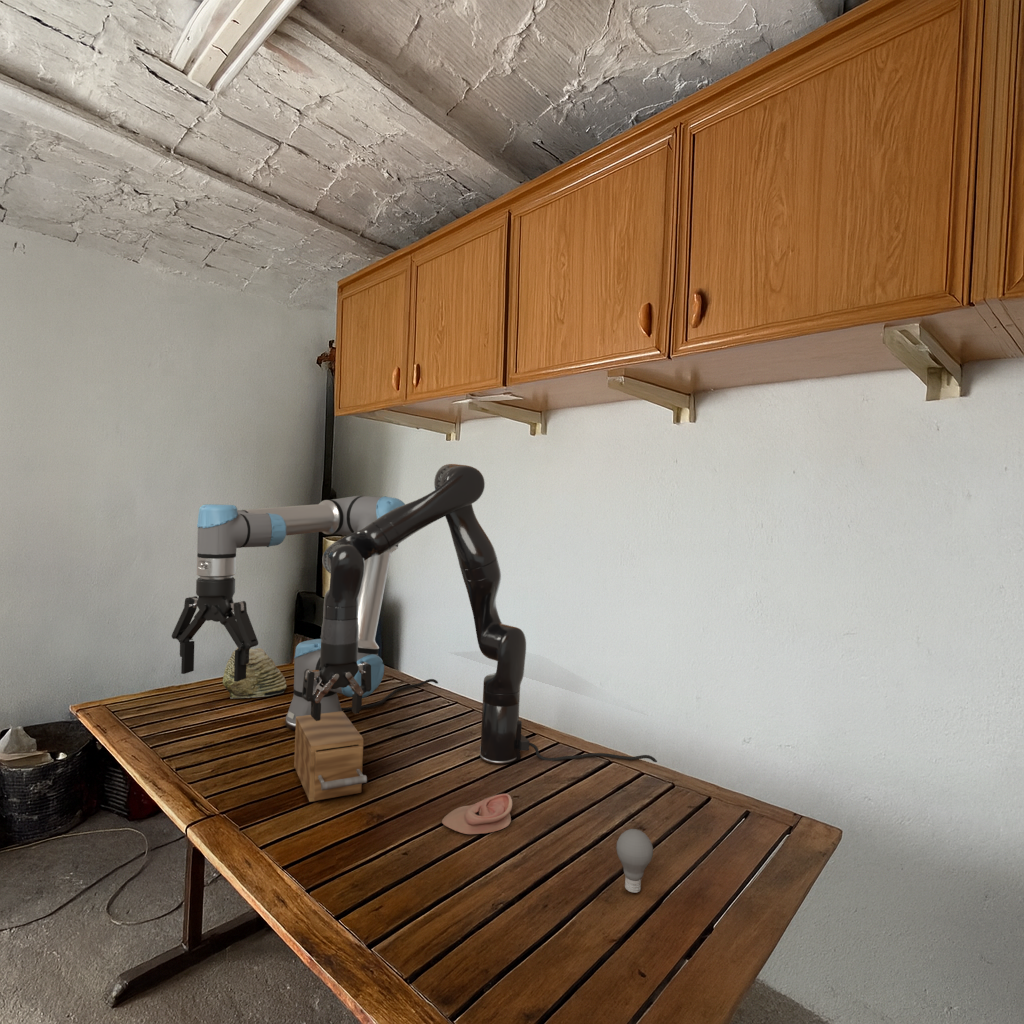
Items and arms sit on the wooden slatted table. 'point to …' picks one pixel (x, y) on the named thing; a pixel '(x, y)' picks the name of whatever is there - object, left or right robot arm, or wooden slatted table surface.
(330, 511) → the left robot arm
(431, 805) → the wooden slatted table surface
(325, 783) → the drawer
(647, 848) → the light bulb
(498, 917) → the wooden slatted table surface
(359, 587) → the right robot arm
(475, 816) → the anatomical model
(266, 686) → the fossil
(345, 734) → the cabinet
